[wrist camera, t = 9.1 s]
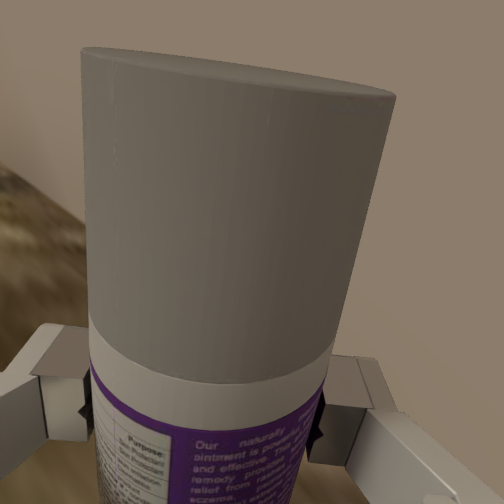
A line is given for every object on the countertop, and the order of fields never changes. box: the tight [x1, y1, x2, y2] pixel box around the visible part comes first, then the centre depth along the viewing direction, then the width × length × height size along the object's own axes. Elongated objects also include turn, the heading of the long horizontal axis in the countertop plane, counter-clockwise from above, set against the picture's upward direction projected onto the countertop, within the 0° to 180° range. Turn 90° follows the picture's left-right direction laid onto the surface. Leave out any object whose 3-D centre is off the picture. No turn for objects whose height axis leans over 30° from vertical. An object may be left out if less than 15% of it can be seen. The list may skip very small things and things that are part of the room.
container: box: [80, 47, 396, 504], centre depth 9 cm, size 5×5×15 cm
